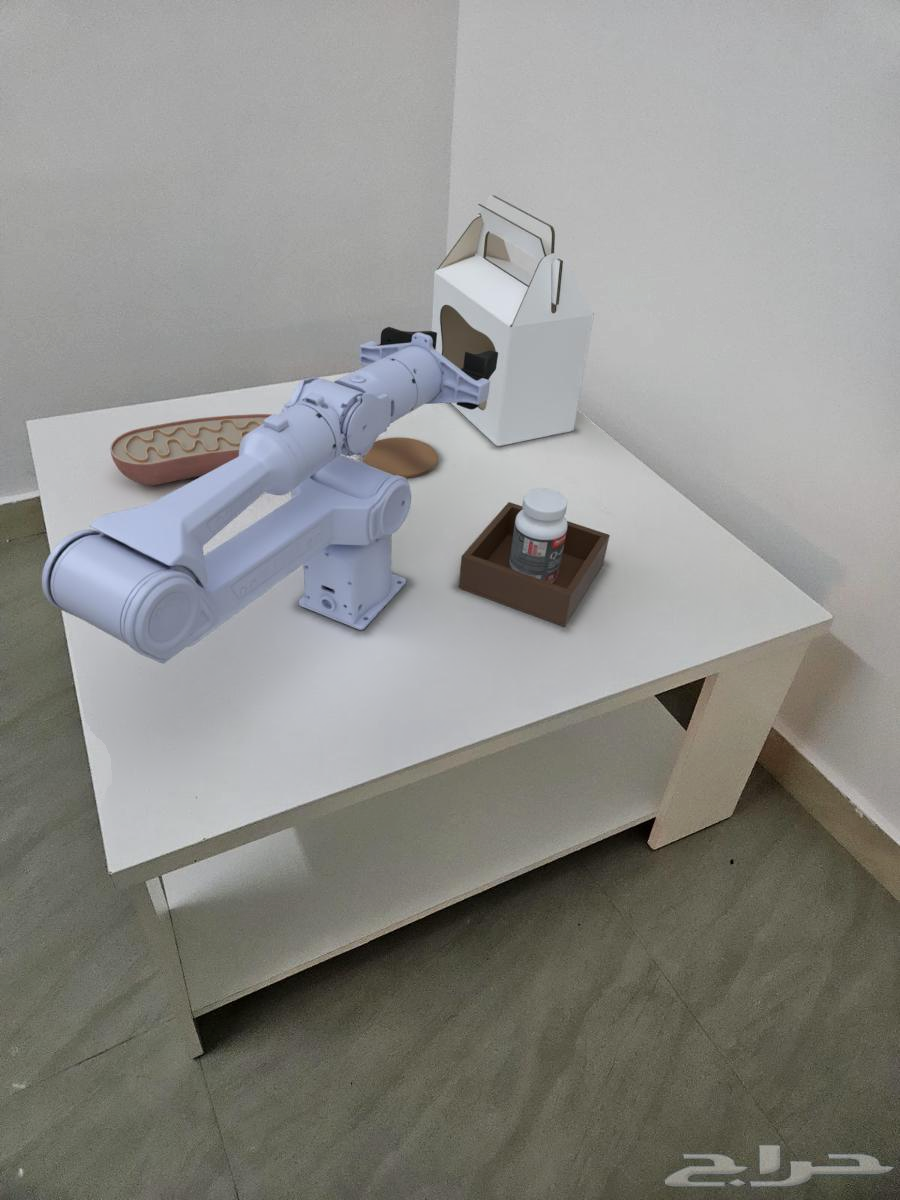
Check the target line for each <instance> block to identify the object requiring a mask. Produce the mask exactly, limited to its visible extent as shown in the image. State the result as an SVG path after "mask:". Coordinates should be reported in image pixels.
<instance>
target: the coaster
mask: <svg viewBox="0 0 900 1200" xmlns="http://www.w3.org/2000/svg"><path fill="white" fill-rule="evenodd" d="M363 461H364V464H366V465H369V466H371V467H374V468H377V469H379V470H382V471H384V472H387V473H390V474H392V475H398V476H402V477H404V478H406V479H411V478H417V477H420V476H424V475H426V474H429V473H430V472H431V471H433V470H434V469H435V468H436V466H437V464H438V453H437V451H436V450H435V449H434V448H433V447H432V446H431V445H429V444H428V443H427V442H424V441H421V440H419V439H416V438H409V437H387V438H382V439H379V440H376V441H375V443H374V444H373V446H372V448H371V449H370V450H369V451H368V453H367V454H366V455H364V456H363Z"/></svg>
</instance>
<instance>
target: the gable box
mask: <svg viewBox="0 0 900 1200" xmlns="http://www.w3.org/2000/svg"><path fill="white" fill-rule="evenodd" d="M477 207H478V210H479V213H476V217H475V218H474V219H473V220H471V222H470V224H468V226H467V227H466V229H465V230H464V231H463V233H462V234H461V236H460V237H459V238H458V240H457V241H456V243H455V244H454V245H453V246H452V248H451V250H450V251H449V252H448V254H447V255H446V256H445V257H444V259H443V260H442V261H441V263H440V265H439V266H438V267H437V269H435V271H434V273H433V274H434V276H433V292H432V293H433V295H432V314H431V315H432V316H431V331H433V332H436V333H437V340H436V351H437V352H439V353H440V354H441V355H442V356H444V357H445V358H446V359H448V360H449V361H450V362H451V363H453V364H454V365H455V366H457V367H458V368H459V369H460V370H461V369H462V368H463V365H464V357H465V351H466V352H469V353H472V354H480V353H483V352H485V351H489V350H493V351H496V352H498V359H497V366H496V370H495V371H494V372H493V374H492V375H491V376H490V378H489V380H490V386H489V394H488V399H487V400H485V401H484V402H482V403H481V404H480V405H479V406H478V407H477V408H475V409H472V410H471V409H467V408H464V407H461V406H459V405H457V402H456V403H450V404H451V405H452V406H453V407H454V408H455V409H456V410H458V411H459V413H461V414H462V415H463V416H464V417H465V418H466V419H467V420H468V421H469V422H470V423H471V424H473V425H474V426H475V428H477V429H478V430H479V431H480V432H481V433H482V434H483V435H484V436H485V437H487V439H489V441H491V442H492V443H493V444H494V445H495V446H496V447H502V446H503V447H504V446H508V445H512V444H517V443H521V442H526V441H531V440H536V439H541V438H545V437H550V436H555V435H560V434H565V433H570V432H573V431H574V429H575V424H576V419H577V414H578V407H579V402H580V397H581V391H582V384H583V379H584V375H585V374H584V373H585V368H586V362H587V356H588V351H589V345H590V340H591V334H592V329H593V323H594V318H595V313H594V312H593V310H592V308H591V305H590V303H589V302H588V300H587V298H586V296H585V294H584V292H583V289H582V287H581V285H580V283H579V281H578V279H577V277H576V275H575V273H574V271H573V268H572V267H571V265H570V262H569V260H568V259H567V258H566V257H565V256H564V255H563V254H561V253H558V252H557V253H556V252H555V244H556V231H555V229H554V226H552V225H551V224H550V223H547V222H546V221H544V220H541V219H540V218H538V217H535V216H534V215H533V214H531V213H528V212H527V211H524V210H522V209H521V208H519V207H517V206H515V205H513V204H512V203H510V202H507V201H506V200H504V199H502V198H500V197H498V196H497V195H495V194H494V195H492V194H491V195H489V196H488V197H487V201H486V206H484V205H483V204H481V203H478V204H477ZM505 242H507V243H508V244H509V245H511V246H513V247H515V248H516V249H518V250H520V251H521V252H523V253H524V254H527V255H528V256H530V257H531V258H533V259H534V260H537V261H538V264H537V266H536V269H535V270H534V273H533V274H532V273H530V272H529V271H526V270H525V269H523V268H522V267H520V266H518V265H517V264H516V263H514V262H512V261H511V259H510V256H509V251H508V249H507V246H506V243H505Z"/></svg>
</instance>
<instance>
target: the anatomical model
mask: <svg viewBox="0 0 900 1200" xmlns="http://www.w3.org/2000/svg"><path fill="white" fill-rule="evenodd" d="M272 414H273V413H251V414H250V413H249V414H230V415H216V416H208V417H207V416H206V417H197V418H190V419H184V420H183V419H182V420H177V421H172V422H165V423H160V424H156V425H155V424H154V425H150V426H145V427H140V428H135V429H132V430H131V429H130V430H128V431H126V432H123V433H122V434H120V435H119V436H117V437H116V438H115V439H114V440H113V441H112V442H111V444H110V446H109V447H110V448H109V451H110V455H111V458H112V461H113V463H114V465H115V467H116V468H117V469H118V471H120V473H121V474H122V475H123V476H125V477H126V478H127V479H129V480H131V481H132V482H135V483H138V484H141V485H146V486H157V485H162V484H166V483H171V482H177V481H181V480H185V479H190V478H196V477H201V476H203V475H205V474H207V473H209V472H211V471H213V470H214V469H216V468H218V467H220V466H222V465H224V464H226V463H227V462H229V461H231V460H233V459H235V458H237V457H239V446H240V442H241V440H242V438H243V437H244V436H245V435H246V434H248V433H249V432H251V431H252V430H254V429H256V428H257V427H259V426H260V425H262V424H264V420H265V419H266V418H268V417H269V416H271V415H272Z"/></svg>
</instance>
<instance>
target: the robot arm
mask: <svg viewBox="0 0 900 1200" xmlns="http://www.w3.org/2000/svg"><path fill="white" fill-rule="evenodd" d="M436 340H437V333H436V332H433V331H432V330H421V331H418V330H417V331H406V330H400V329H397V328H395V327H392V326H387V327H385V328H383V329H382V330H381V332H380V343H378V342H376V341H373V340H369V341H367V342H365V343H362V344H360V345H359V359H358V360H359V361H358V362H359V363H358V364H360V365H362V366H364V367H361V368H359V369H357V370H355V371H353V372H350V373H349V374H346V375H344V376H342V377H340V378H338V379H336V380H334V381H331V380H328V379H327V378H326V379H325V378H319V377H316V376H311V377H309V378H305V379H302V380H301V381H300V382H299V383H298V384H297V386H296V387H295V388H294V390H293V393H292V394H291V397H290V399H289V400H288V402H286V403H285V404H284V407H282V408H281V412H279V413H278V414H276V413H275V414H274V413H271V414H272V415H271V416H269V417H268V418H266V419H265V420H264V424H262V425H260V426H259V427H257V428H256V429H254V430H252V431H251V432H249V433H248V434H246V435H245V436H244V437H243V438H242V440H241V442H240V446H239V457H237V458H235V459H233V460H231V461H229V462H227V463H226V464H224V465H222V466H220V467H218V468H216V469H214V470H213V471H211V472H209V473H207V474H205V475H202V476H198V478H195V479H194V480H192V481H190V482H188V483H186V484H184V485H182V486H180V487H179V488H177V489H175V490H173V491H171V492H169V493H167V494H166V495H164V496H162V497H160V498H158V499H156V500H154V501H153V502H151V503H148V504H145V505H143V506H138V507H133V508H129V509H124V510H119V511H114V512H110V513H105V514H102V515H101V516H99V517H97V518H96V519H95V520H93V522H91V524H89V527H90V528H92V529H82V530H78V531H74V532H72V533H71V534H69V535H67V536H66V537H64V538H63V539H62V540H61V541H59V542H58V544H56V545H55V547H54V548H53V549H52V550H51V551H50V553H49V555H48V557H47V559H46V560H45V563H44V565H43V569H42V573H41V587H42V592H43V594H44V597H45V598H46V600H47V601H48V602H49V603H50V604H51V605H52V606H54V607H55V608H57V609H59V610H61V611H63V612H65V613H66V614H69V615H72V616H73V617H75V618H78V619H80V620H81V621H84V622H86V623H88V624H89V625H91V626H93V627H95V628H96V629H98V630H100V631H102V632H103V633H105V634H107V635H109V636H111V637H112V638H114V639H116V640H118V641H119V642H122V643H123V644H125V645H127V646H129V648H131V649H132V650H133V651H135V652H136V653H138V654H139V655H141V656H144V657H146V658H148V659H150V660H152V661H154V662H157V663H159V664H162V665H163V664H165V663H167V662H169V661H170V660H171V659H172V658H173V657H175V656H177V655H178V654H180V652H182V651H184V650H185V649H186V648H190V647H192V646H194V645H196V644H198V643H199V642H201V641H202V640H203V639H205V638H206V637H207V636H209V635H210V634H211V633H213V632H214V631H215V630H217V629H219V628H220V627H222V625H223V624H225V623H226V622H228V621H229V620H230V619H232V618H233V617H234V616H235V615H237V614H238V613H240V612H241V611H242V610H244V609H245V608H247V607H248V606H249V605H251V604H252V603H253V602H255V601H256V600H257V599H259V598H260V597H262V596H263V595H264V594H265V593H267V592H268V591H270V590H271V589H272V588H274V587H275V586H276V585H278V584H279V583H281V582H282V581H283V580H284V579H286V578H287V577H288V576H290V575H291V574H293V573H294V572H295V571H297V570H298V569H299V568H300V567H302V568H303V580H304V595H303V596H302V597H301V598H300V599H299V601H298V604H299V606H300V607H302V608H305V609H307V610H310V611H312V612H315V613H317V614H320V615H322V616H325V617H326V618H329V619H332V620H334V621H336V622H340V623H342V624H345V625H347V626H349V627H351V628H354V629H356V630H360V631H362V630H365V628H366V627H367V626H368V625H369V624H371V622H372V621H373V620H374V619H375V618H376V617H377V615H379V613H380V612H381V611H382V610H384V607H386V606H387V605H388V604H389V602H390V601H391V600H392V599H393V598H394V597H395V596H396V595H397V594H398V593H399V591H401V589H402V588H404V586H405V585H406V584H407V578H405V577H403V576H400V575H397V574H395V573H393V572H392V544H393V543H392V540H393V534H395V533H396V532H397V531H398V530H399V529H400V528H401V527H402V525H403V524H404V523H405V521H406V519H407V517H408V515H409V512H410V509H411V504H412V489H411V486H410V482H409V480H408V478H404V477H402V476H398V475H392V474H390V473H387V472H384V471H382V470H379V469H377V468H374V467H371V466H369V465H366V464H365V462H361V461H358V460H355V459H354V458H351V457H353V456H355V455H356V456H359V457H360V458H361V459H362V458H364V455H366V454H367V453H368V451H369V450H370V449H371V448H372V446H373V444H374V443H375V442H376V441H377V439H378V438H379V436H381V435H382V434H384V433H385V432H387V430H388V428H389V427H390V425H391V424H392V423H394V422H396V421H398V420H399V419H401V418H403V417H404V416H406V415H408V414H410V413H411V412H413V411H415V410H417V409H419V408H420V407H422V406H424V405H430V404H431V405H432V404H434V405H435V404H451V403H456V402H457V405H459V406H461V407H464V408H467V409H471V410H472V409H475V408H477V407H478V406H479V405H480V404H481V403H482V402H484V401H485V400H487V399H488V394H489V386H490V380H489V378H490V376H491V375H492V374H493V372H494V371H495V370H496V366H497V359H498V352H496V351H493V350H489V351H485V352H483V353H480V354H472V353H469V352H466V351H465V357H464V365H463V368H462V369H461V370H460V369H459V368H458V367H457V366H455V365H454V364H453V363H451V362H450V361H449V360H448V359H446V358H445V357H444V356H442V355H441V354H440V353H439V352H437V351H436ZM265 493H266V494H269V495H273V496H285V495H287V494H289V493H290V500H287V502H285V503H283V504H282V505H280V506H279V507H277V508H275V509H274V510H272V511H271V512H270V513H267V514H266V515H265V516H263V517H262V518H260V519H258V520H256V522H254V523H252V524H250V525H249V526H248V527H246V528H245V529H242V531H240V532H238V533H237V534H235V535H234V536H232V537H231V538H229V539H227V540H226V541H224V542H223V543H221V544H220V545H218V546H217V547H215V548H213V549H212V550H210V551H208V552H207V553H205V554H204V546H205V545H207V543H208V542H210V541H211V540H212V539H213V538H214V537H215V536H216V535H218V534H219V533H221V531H223V529H225V528H226V527H227V526H228V525H229V524H231V523H232V521H234V520H235V519H236V518H237V517H239V516H240V514H242V513H243V512H244V511H245V510H246V509H248V508H249V507H250V506H251V505H252V504H254V503H255V501H257V500H258V499H259V498H260V497H261V496H262V495H264V494H265Z"/></svg>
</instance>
